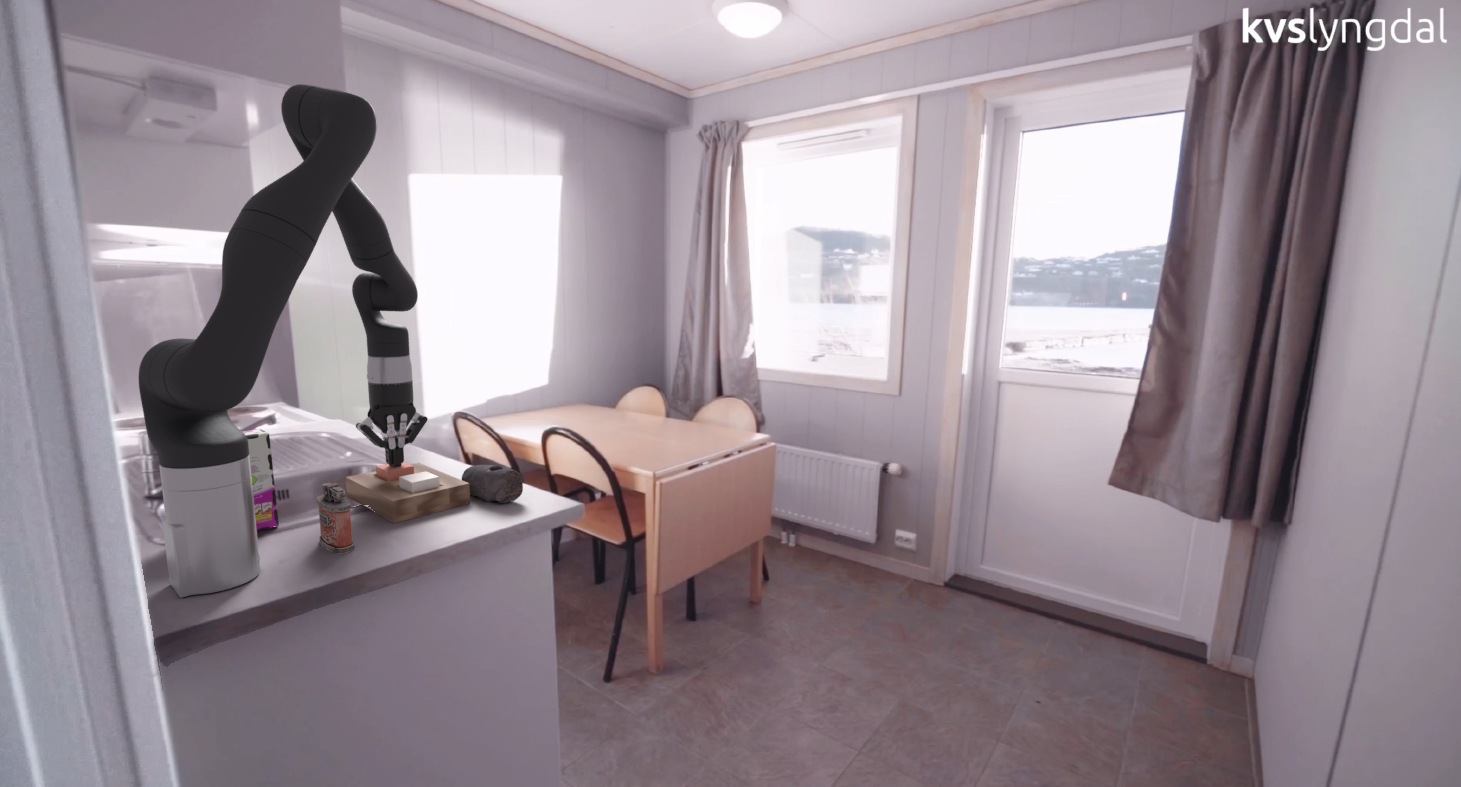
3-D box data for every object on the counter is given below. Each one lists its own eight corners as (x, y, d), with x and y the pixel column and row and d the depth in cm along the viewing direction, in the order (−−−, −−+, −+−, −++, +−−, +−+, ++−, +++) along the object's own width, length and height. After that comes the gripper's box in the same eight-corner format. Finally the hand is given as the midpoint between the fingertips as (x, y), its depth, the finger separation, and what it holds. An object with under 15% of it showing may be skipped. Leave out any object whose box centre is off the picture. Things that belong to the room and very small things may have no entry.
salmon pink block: (388, 491, 118) (387, 471, 117) (376, 485, 121) (375, 466, 120) (414, 485, 121) (413, 466, 121) (403, 480, 124) (402, 461, 124)
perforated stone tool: (453, 495, 122) (451, 461, 121) (475, 488, 127) (474, 455, 126) (503, 510, 115) (503, 474, 114) (526, 502, 119) (525, 468, 118)
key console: (394, 523, 107) (392, 501, 106) (347, 496, 119) (345, 476, 118) (470, 503, 118) (469, 483, 117) (419, 481, 130) (419, 462, 129)
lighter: (314, 541, 98) (310, 481, 97) (338, 535, 101) (333, 477, 99) (335, 555, 93) (330, 493, 92) (359, 549, 96) (355, 488, 95)
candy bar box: (269, 520, 106) (261, 427, 104) (279, 527, 103) (271, 432, 101) (185, 539, 97) (173, 438, 95) (194, 547, 95) (182, 444, 92)
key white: (413, 503, 112) (411, 482, 111) (400, 497, 115) (399, 476, 114) (440, 497, 115) (439, 476, 115) (427, 491, 118) (426, 471, 118)
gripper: (361, 384, 110) (367, 477, 113) (434, 378, 120) (438, 463, 123) (344, 379, 115) (350, 469, 118) (416, 374, 125) (420, 456, 128)
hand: (395, 466), depth 120 cm, fingers closed
